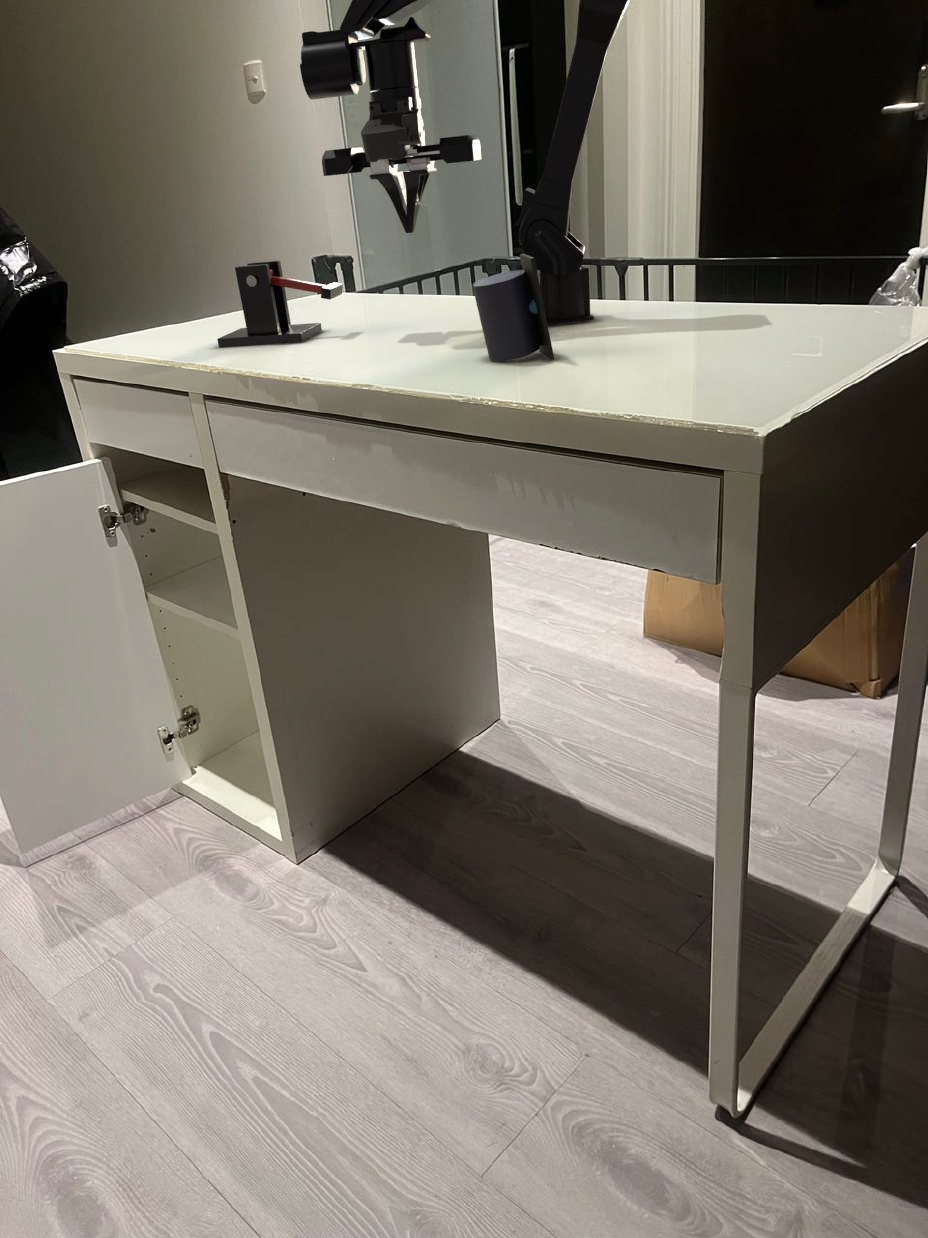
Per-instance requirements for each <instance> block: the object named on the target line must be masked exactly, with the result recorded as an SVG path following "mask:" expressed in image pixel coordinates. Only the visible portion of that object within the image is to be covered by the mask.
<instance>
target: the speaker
mask: <svg viewBox="0 0 928 1238" xmlns="http://www.w3.org/2000/svg"><path fill="white" fill-rule="evenodd" d="M519 259H520V264H521V268H522V269H518V270H509V271H505V272H501V273H496V274H493V275H489V276H487V277H484V278H482V279H479V280H477V281H475V282H474V283H473V284H472V289H473V294H474V299H475V303H476V307H477V312H478V316H479V320H480V325H481V329H482V333H483V334H482V335H483V338H484V343H485V346H486V350H487V355H488V359H489V361H490V362H492V363H493V362H496V363H497V362H498V363H499V362H507V361H512V360H517V359H518V360H519V359H522V358H524V357H527V356H530V355H532V354H534V353H536V352H537V351H539V353H540V354H542V355H543V356H544V357H545V358H547V359H548V360H549V361H553V360H555V355H554V350H553V345H552V340H551V335H550V330H549V325H548V324H547V319H546V314H545V309H544V304H543V299H542V294H541V289H540V284H539V279H538V274H537V270H538V269H537V263H536V261H535V259H534V257H531V256H529V255H527V254H526V253H520V254H519Z"/></svg>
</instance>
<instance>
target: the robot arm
mask: <svg viewBox="0 0 928 1238" xmlns="http://www.w3.org/2000/svg"><path fill="white" fill-rule="evenodd" d="M433 1H434V0H351V2H350V4H349V6H348V9H347V11H346V13H345V15H344V17H343V20H342V22H341V24H340V26H339V29H335V30H334V29H333V30H327V31H326V30H325V31H315V30H314V31H313V30H311V31H303V32H302V33H301V39H302V46H301V50H300V63H299V70H300V76H301V80H302V84H303V87H304V91H305V93H306V95H307V97H308V99H310V100H322V99H329V98H338V97H346V96H347V97H348V96H354V95H355V96H356V95H358V94H359V91H360V86H364V84H365V83H366V80H367V79H368V87H369V94H370V95H369V96H370V101H369V102H368V103H369V104H368V105H369V107H368V109H369V110H368V111H369V118H368V120H367V121H366V122H365V124H364V126H363V127H362V128H361V130H360V137H361V140H362V145H363V147H359V146H357V147H347V148H338V149H337V148H336V149H328V150H327V149H326V150H325V151H324V152H323V154H322V158H321V166H322V167H321V168H322V173H323V177H329V176H338V175H348V174H356V173H357V174H358V173H362V172H363V171H364V169H367V168H370V174H369V175H368V176H369V179H370V180H371V181H372V180H373V181H374V180H376V181H378V183H379V184H380V185H381V186H382V187H383V189H384V190H385V192H386V193H387V195H388V197H389V198H390V200H391V202H392V205H393V207H394V209H395V212H396V214H397V216H398V219H399V221H400V223H401V225H402V227H403V230H404V232H405V234H413V233H414V232H415V230H416V229H415V228H416V224H417V220H418V217H419V216H418V215H419V211H420V207H421V202H422V198H423V196H424V195H423V194H424V193H425V192H424V191H425V188H426V186H427V183H428V180H429V177H430V175H431V174H435V173H437V172H438V170H437V167H435V162H436V161H443V162H445V164H457V163H467V162H475V161H476V162H477V161H482V149H481V148H482V147H481V142H480V139H479V138H478V137H477V136H476V135H475V134H466V135H456V136H455V135H454V136H446V137H440V138H439V142H438V143H435V144H426V140H425V139H426V138H425V137H426V132H425V131H426V130H425V125H424V121H423V117H422V111H421V109H422V100H421V99H422V98H420V92H419V91H420V90H419V81H418V71H417V62H416V52H415V44H419V43H427V42H430V41H431V38H432V37H431V34H430V33H428V32H427V31H426V30H425V29H423V28H422V26H421V25H420V23H419V22H418V19H416V18H415V17H413V15H414V14H416V13H418V12H419V11H421V10H423V9H424V8H425V7H426V6H428V5H429V4H430V3H432V2H433ZM578 1H579V2H578V12H577V25H576V27H577V28H576V39H575V46H574V48H573V53H572V56H571V61H570V65H569V69H568V72H567V77H566V80H565V85H564V89H563V93H562V97H561V102H560V105H559V109H558V112H557V117H556V121H555V126H554V128H553V129H554V130H553V132H552V137H551V141H550V145H549V149H548V153H547V157H546V161H545V164H544V165H545V166H544V169H543V173H542V176H541V178H540V180H539V181H538V184H537V187H536V189H535V190H534V189H532V188H531V187H527V188H525V189H523V191H522V198H521V209H520V214H519V216H518V219H517V220H516V221H515V222H514V226H515V227H519V228H518V235H517V236H518V237H517V238H518V243H519V246H520V247H521V249H522V251H523V253H524V254H526V255H529V256H531V257H534V259H535V264H536V266H537V268H538V269H537V274H538V279H539V284H540V289H541V294H542V299H543V304H544V309H545V314H546V319H547V324H548V326H556V325H564V324H572V323H580V322H581V323H582V322H590V321H595V315H593V314H591V290H590V289H591V288H590V267H589V266H586V265H582V264H583V260H584V256H585V252H586V246H585V245H584V244H583V243H582V242H581V241H580V240H579V239H578V238H576V237H575V236H574V234H572V233H571V232H570V231H569V225H570V216H571V207H572V206H571V205H572V196H573V195H572V194H573V184H574V177H575V174H576V170H577V167H578V163H579V159H580V156H581V155H580V154H581V152H582V151H581V150H582V148H583V145H584V144H583V143H584V140H585V136H586V133H587V128H588V125H589V122H590V117H591V113H592V109H593V106H594V102H595V98H596V95H597V92H598V91H597V90H598V87H599V83H600V79H601V75H602V71H603V68H604V64H605V60H606V56H607V53H608V51H609V49H610V46H611V44H612V42H613V40H614V39H615V38H614V37H615V36H616V33H617V31H618V29H619V26H620V24H621V22H622V19H623V17H624V15H625V13H626V10H627V8H628V6H629V3H630V1H631V0H578ZM407 18H408V20H407V22H406V23H405V24H404V25H401V26H395V25H397V24H399V23H401V22H403V21H404V20H406V19H407ZM393 25H394V26H393ZM386 26H393V27H387V28H386ZM378 34H379V38H376V37H377V35H378ZM368 39H370V40H368ZM361 40H362V41H361ZM363 50H364V51H363ZM364 53H365V55H364ZM365 62H366V63H365ZM366 69H367V70H366ZM367 77H368V78H367ZM410 148H412V150H413V151H414V150H416V152H412V153H409V149H410ZM404 164H406V166H407V167H408V170H405V171H398V167H399V165H404Z"/></svg>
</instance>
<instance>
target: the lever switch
mask: <svg viewBox="0 0 928 1238" xmlns="http://www.w3.org/2000/svg"><path fill="white" fill-rule="evenodd" d="M270 269H273V276H277V277H283V278H284V276H283V269H282V265H281V260H268V261H267V260H266V261H257V262H256V261H255V262H248V263H246V265H240V266H239V265H237V266H235V267H234V271H235V277H236V280H237V281H236V282H237V287H238V291H239V296H240V297H239V298H240V301H241V307H242V313H243V318H244V323H245V327H240V328H238V329H236V330H234V331H232V332H229V333H227V334H225V335H222V336H220V337H218V338H217V339H216V340H217V345H218V348H219V349H221V348H236V347H252V346H270V345H285V344H301V343H304V342H306V341H308V340H309V339H311V338H313V337H314V336H316V335H319V334H320V333H322V332H323V328H322V323H321V322H311V323H310V322H309V323H296V324H292V323H291V316H290V310H289V306H288V299H287V293H286V287H281V286H276V285H273V286H272V280H271V274H270Z"/></svg>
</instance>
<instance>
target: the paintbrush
mask: <svg viewBox="0 0 928 1238" xmlns="http://www.w3.org/2000/svg"><path fill="white" fill-rule="evenodd" d="M270 274H271V280H272V286H273V285H276V286H281V287H285V288H287V289H292V290H299V291H304V292H309V293H315V294H320V299H323V300H324V299H325V300H330V301H331V300H332V299H335V298H336V297H339V296H341V295H343V288H344V287H343V283H339V282H332V283H329V284H322V283H317V282H312V281H305V280H300V279H294V278H288V277H284V276H283V277H277V276H273V269H270Z"/></svg>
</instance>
